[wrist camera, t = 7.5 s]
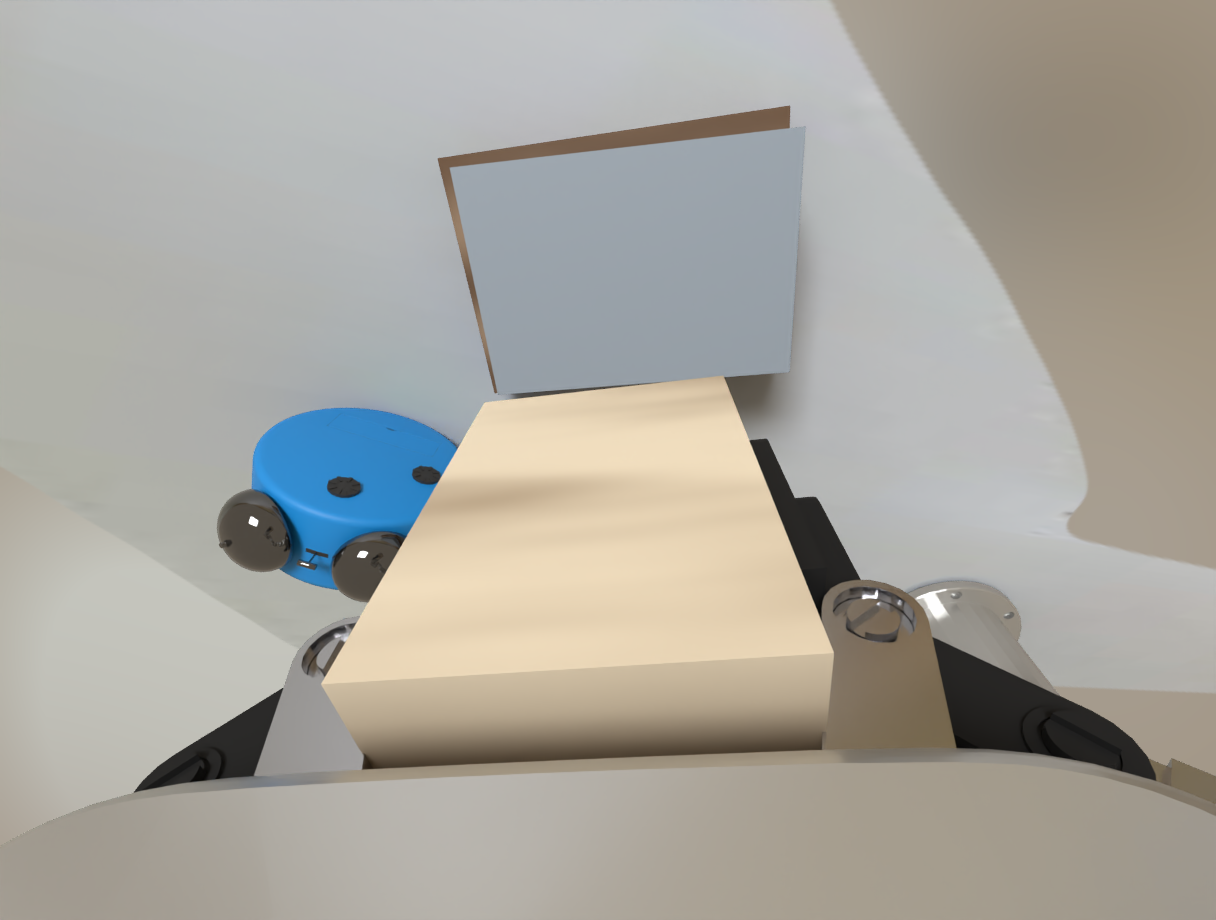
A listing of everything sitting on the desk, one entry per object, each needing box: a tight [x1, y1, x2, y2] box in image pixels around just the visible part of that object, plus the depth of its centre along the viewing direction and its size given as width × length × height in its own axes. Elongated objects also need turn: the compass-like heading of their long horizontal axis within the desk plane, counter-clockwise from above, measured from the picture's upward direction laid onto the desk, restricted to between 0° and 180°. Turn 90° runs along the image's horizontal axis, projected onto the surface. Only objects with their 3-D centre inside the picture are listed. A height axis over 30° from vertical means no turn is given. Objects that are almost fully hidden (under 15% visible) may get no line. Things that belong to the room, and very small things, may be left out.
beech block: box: [321, 376, 834, 769], centre depth 9 cm, size 5×5×7 cm
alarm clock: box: [217, 408, 458, 602], centre depth 37 cm, size 13×6×15 cm, turn 70°
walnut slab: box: [438, 106, 790, 393], centre depth 34 cm, size 14×19×4 cm
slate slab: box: [450, 126, 806, 395], centre depth 31 cm, size 12×17×4 cm
